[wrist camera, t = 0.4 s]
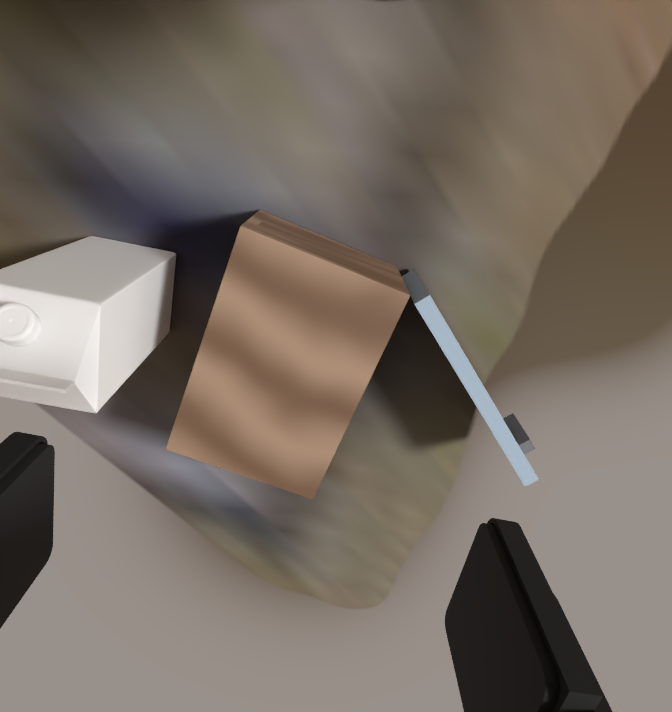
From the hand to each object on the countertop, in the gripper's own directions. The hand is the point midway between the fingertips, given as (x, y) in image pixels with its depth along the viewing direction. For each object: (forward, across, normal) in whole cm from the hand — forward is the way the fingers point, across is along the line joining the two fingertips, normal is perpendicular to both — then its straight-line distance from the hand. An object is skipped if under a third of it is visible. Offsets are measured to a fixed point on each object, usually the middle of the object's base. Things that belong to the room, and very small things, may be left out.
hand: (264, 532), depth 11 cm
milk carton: (+34, +15, +6) cm, 38 cm away
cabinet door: (+33, -14, +6) cm, 37 cm away
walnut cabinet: (+34, +1, +8) cm, 35 cm away
